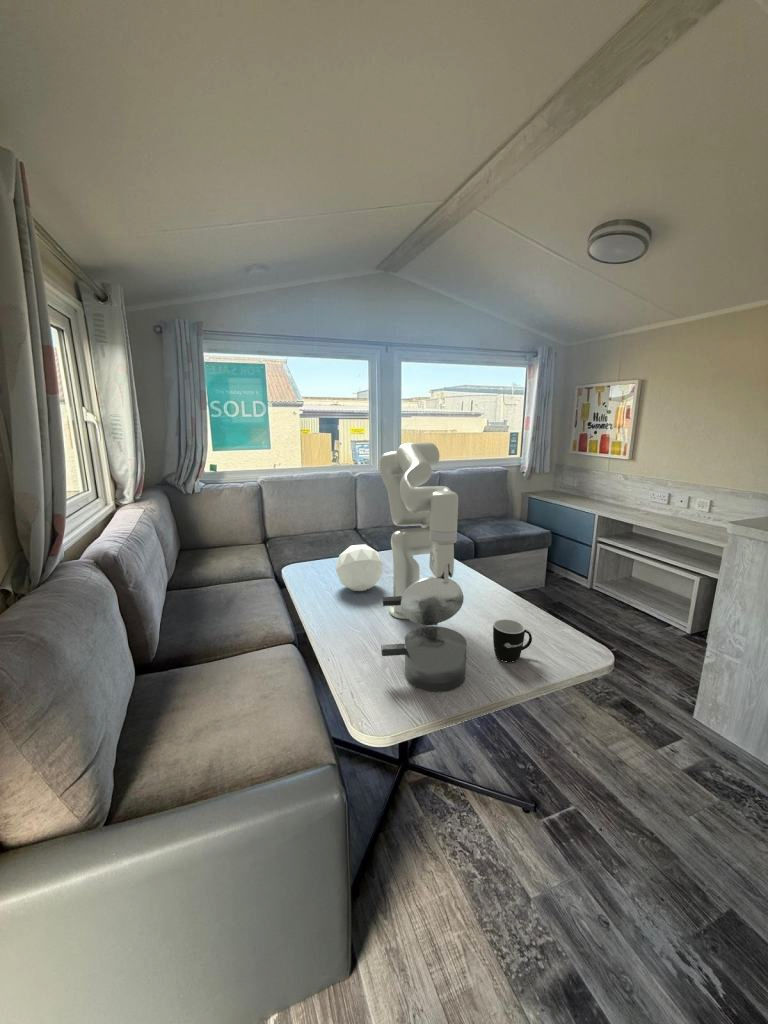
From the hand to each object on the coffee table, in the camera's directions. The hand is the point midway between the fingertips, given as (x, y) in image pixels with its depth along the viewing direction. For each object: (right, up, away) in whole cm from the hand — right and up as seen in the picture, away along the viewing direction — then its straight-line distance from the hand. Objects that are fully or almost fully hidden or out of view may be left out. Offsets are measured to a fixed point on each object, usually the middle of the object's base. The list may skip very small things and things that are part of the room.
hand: (441, 596), depth 122 cm
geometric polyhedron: (-27, -8, +56) cm, 63 cm away
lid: (-5, -2, -2) cm, 6 cm away
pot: (-5, -21, -3) cm, 22 cm away
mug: (+22, -19, +5) cm, 30 cm away
